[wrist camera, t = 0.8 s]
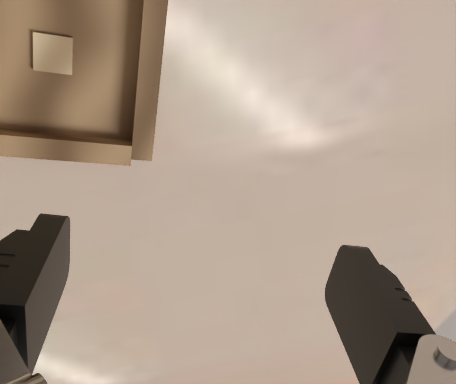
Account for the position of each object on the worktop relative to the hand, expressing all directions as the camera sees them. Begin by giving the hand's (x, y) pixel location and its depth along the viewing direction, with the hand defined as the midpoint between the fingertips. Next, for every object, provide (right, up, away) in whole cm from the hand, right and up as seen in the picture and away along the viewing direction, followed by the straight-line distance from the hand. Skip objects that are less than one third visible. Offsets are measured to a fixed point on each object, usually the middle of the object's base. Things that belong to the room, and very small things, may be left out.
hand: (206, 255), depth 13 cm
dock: (-11, +11, +16) cm, 23 cm away
